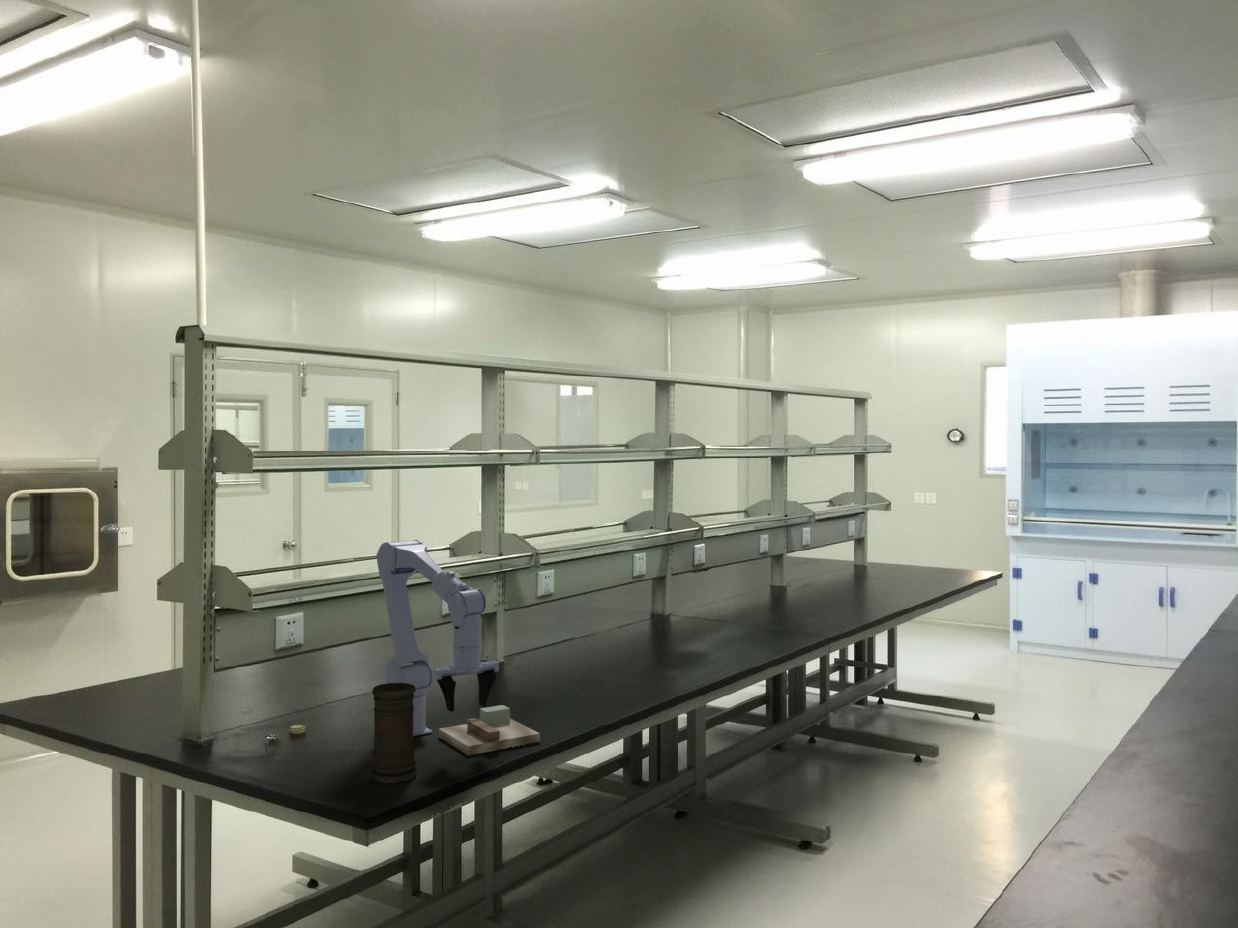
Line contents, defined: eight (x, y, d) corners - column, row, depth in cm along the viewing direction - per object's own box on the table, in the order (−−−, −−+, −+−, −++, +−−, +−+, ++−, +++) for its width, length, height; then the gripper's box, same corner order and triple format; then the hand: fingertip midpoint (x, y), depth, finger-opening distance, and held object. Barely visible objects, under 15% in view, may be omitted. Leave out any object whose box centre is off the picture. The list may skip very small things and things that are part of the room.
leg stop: (486, 725, 227) (486, 712, 227) (479, 722, 230) (479, 708, 230) (509, 721, 231) (509, 708, 231) (502, 718, 234) (502, 704, 234)
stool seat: (468, 755, 212) (468, 746, 212) (438, 737, 225) (438, 728, 225) (539, 742, 222) (539, 733, 222) (507, 725, 235) (508, 717, 235)
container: (388, 787, 193) (388, 695, 192) (362, 776, 199) (362, 687, 198) (426, 775, 199) (426, 686, 199) (399, 765, 205) (399, 679, 205)
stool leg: (465, 728, 224) (465, 719, 224) (476, 726, 226) (476, 717, 226) (488, 741, 214) (488, 732, 214) (500, 739, 216) (500, 730, 216)
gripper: (443, 652, 208) (443, 717, 208) (505, 644, 216) (505, 707, 216) (429, 646, 213) (429, 709, 214) (490, 639, 222) (490, 699, 222)
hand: (466, 707), depth 215 cm, fingers open, 7 cm apart
